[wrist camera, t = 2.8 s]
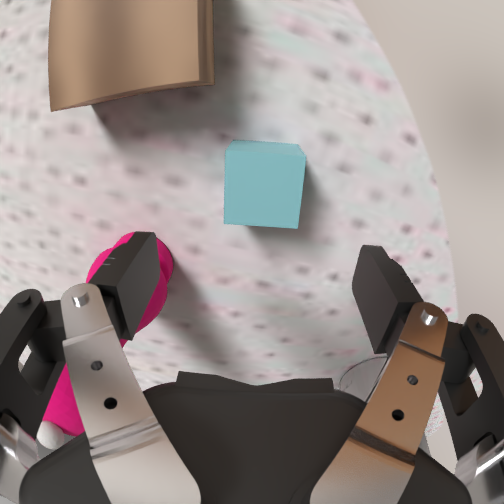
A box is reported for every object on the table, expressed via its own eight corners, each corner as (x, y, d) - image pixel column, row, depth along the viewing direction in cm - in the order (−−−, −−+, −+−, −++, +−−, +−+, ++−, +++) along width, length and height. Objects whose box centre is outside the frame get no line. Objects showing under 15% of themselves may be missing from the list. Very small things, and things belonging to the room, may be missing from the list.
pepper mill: (116, 216, 25) (-24, 387, 8) (186, 241, 26) (98, 459, 9) (108, 275, 29) (13, 436, 11) (170, 298, 30) (106, 483, 12)
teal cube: (297, 144, 22) (306, 156, 17) (291, 203, 24) (297, 228, 20) (233, 139, 22) (225, 150, 17) (231, 199, 24) (223, 223, 20)
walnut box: (213, -32, 14) (198, -64, 9) (215, 84, 20) (198, 80, 15) (91, -3, 15) (53, -17, 10) (92, 104, 20) (50, 112, 15)
